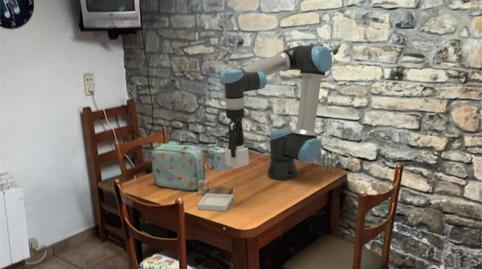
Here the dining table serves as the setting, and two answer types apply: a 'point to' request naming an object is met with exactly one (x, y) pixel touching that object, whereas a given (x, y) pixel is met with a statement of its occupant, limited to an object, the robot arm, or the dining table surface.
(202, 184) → the clear glass cylinder
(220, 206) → the tray
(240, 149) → the medicine bottle
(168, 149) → the lunch box
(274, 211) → the dining table surface
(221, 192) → the board
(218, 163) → the light bulb box
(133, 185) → the dining table surface
